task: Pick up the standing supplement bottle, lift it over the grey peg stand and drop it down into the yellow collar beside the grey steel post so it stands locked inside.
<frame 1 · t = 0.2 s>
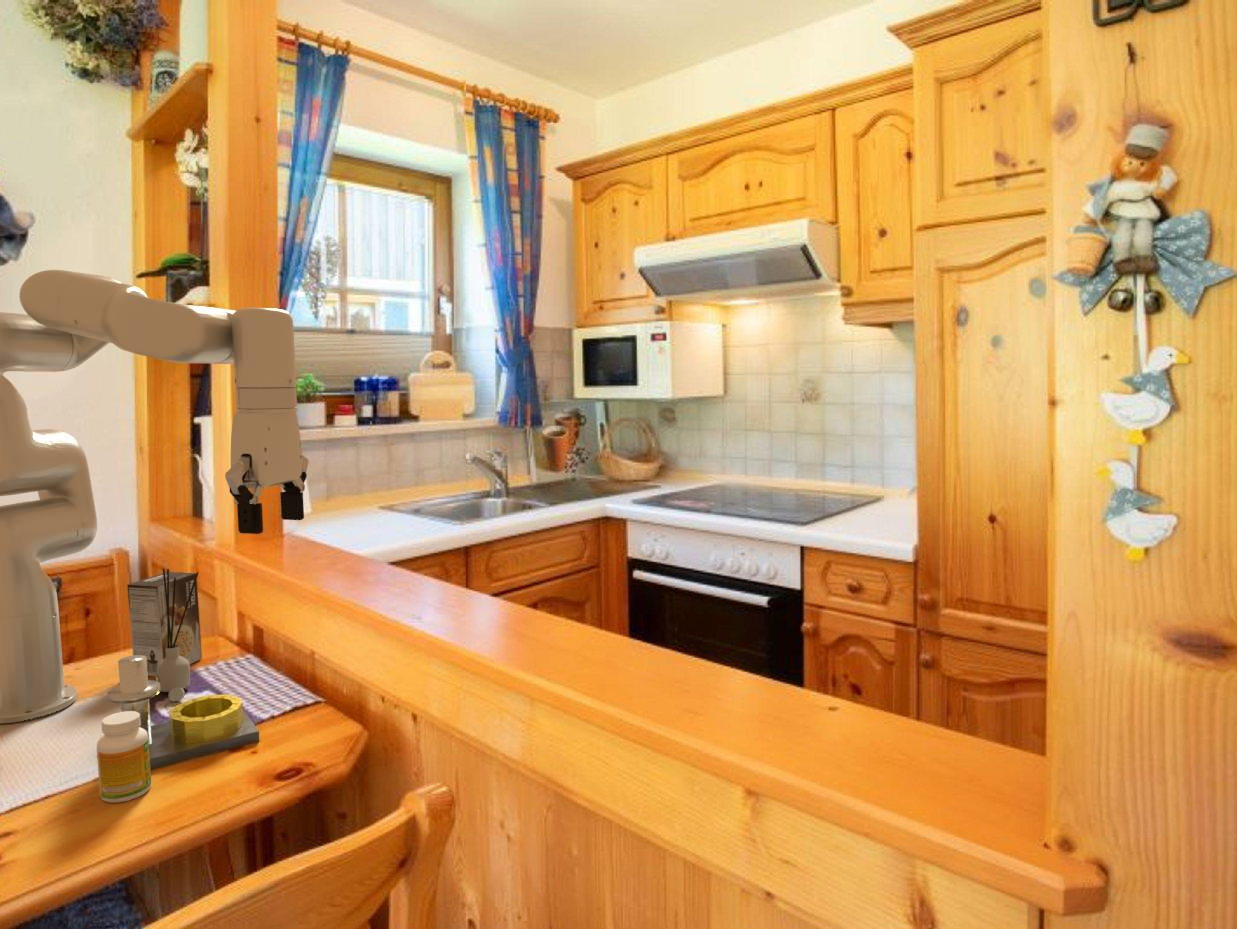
hand: (272, 526, 108), 31 cm above the table, tool pointing down, fingers open, 9 cm apart
reed diffuser: (182, 691, 128), on the table
grey peg stand: (184, 743, 110), on the table
supplement bottle: (126, 793, 97), on the table
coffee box: (168, 667, 139), on the table
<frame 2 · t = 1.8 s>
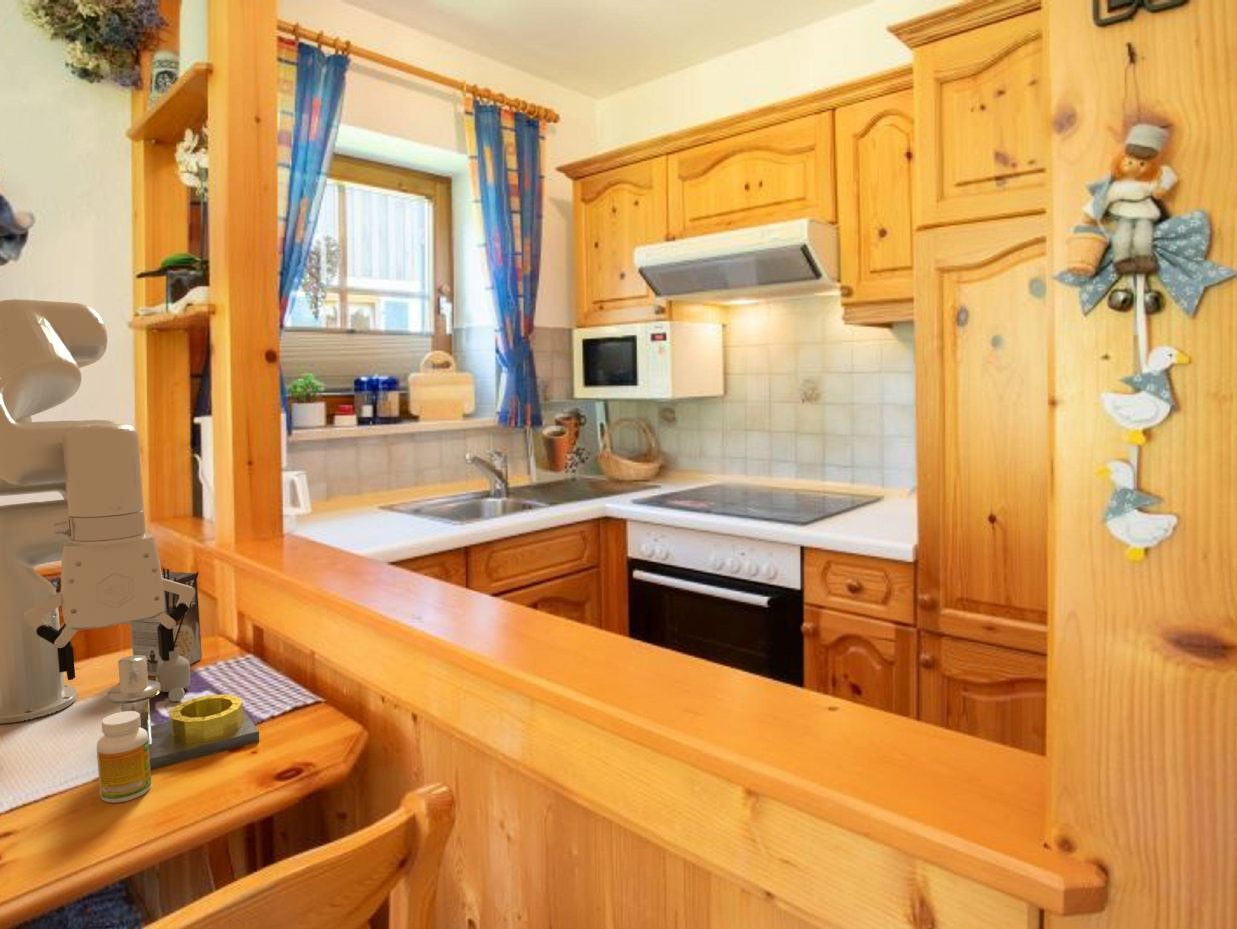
hand: (119, 667, 95), 16 cm above the table, tool pointing down, fingers open, 9 cm apart
nothing on the table moved.
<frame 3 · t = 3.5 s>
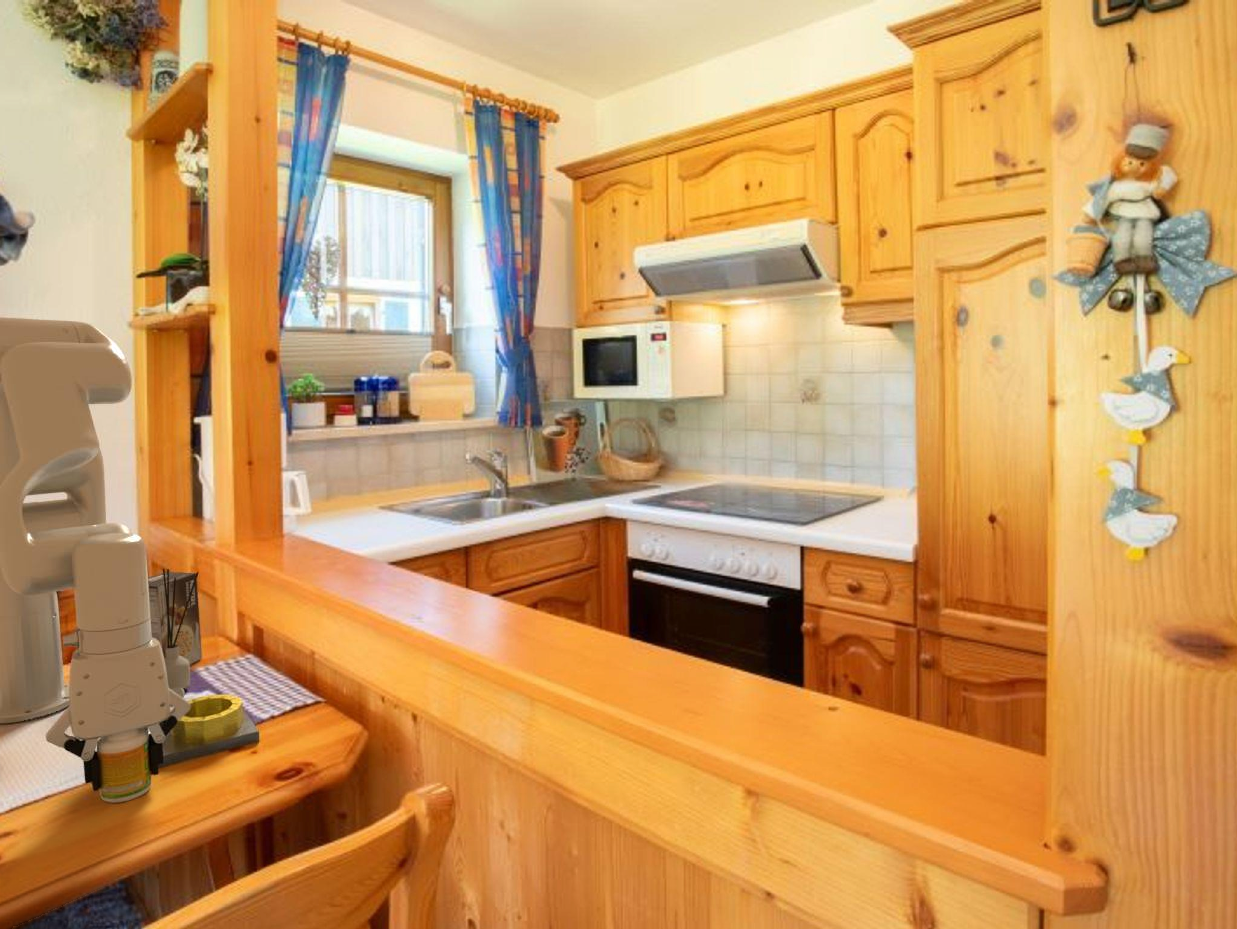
hand: (125, 776, 97), 2 cm above the table, tool pointing down, fingers closed on supplement bottle, 5 cm apart
supplement bottle: (126, 793, 97), on the table, touching gripper
everything else where it was.
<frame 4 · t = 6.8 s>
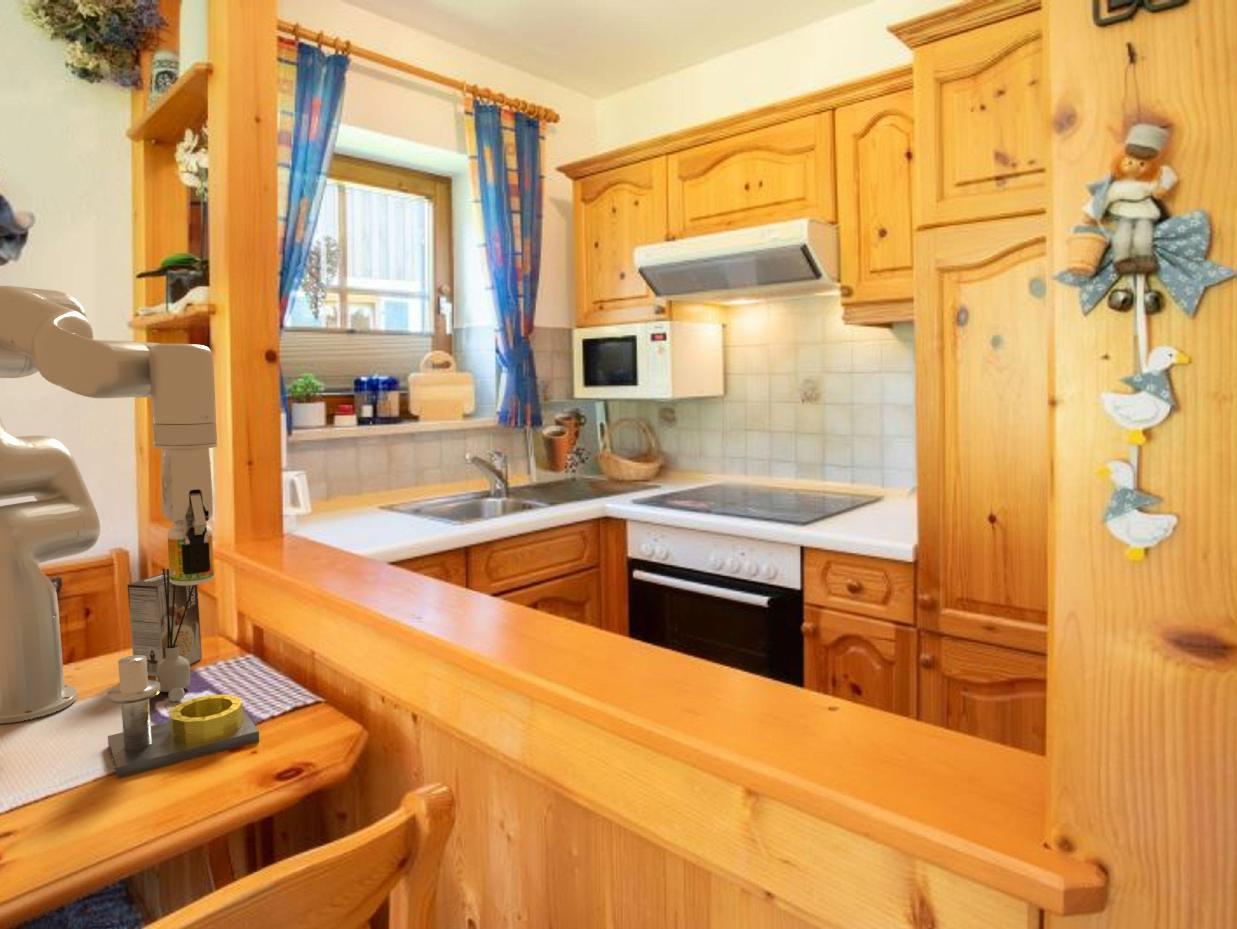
hand: (192, 566, 108), 25 cm above the table, tool pointing down, fingers closed on supplement bottle, 5 cm apart
supplement bottle: (192, 582, 108), point 23 cm above the table, touching gripper
everything else where it was.
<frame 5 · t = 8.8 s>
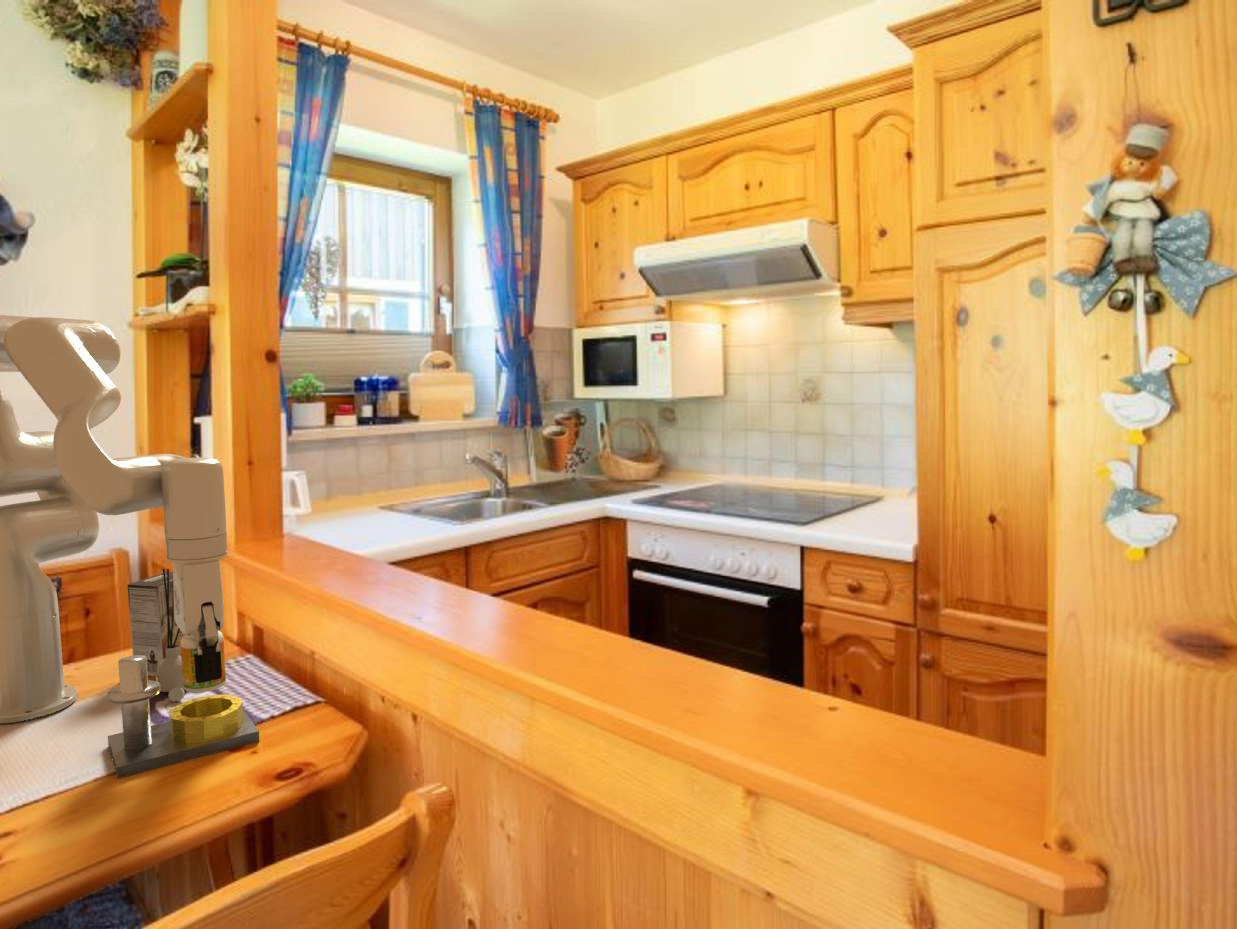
hand: (204, 672, 111), 10 cm above the table, tool pointing down, fingers closed on supplement bottle, 5 cm apart
supplement bottle: (205, 687, 111), point 7 cm above the table, touching gripper
everything else where it was.
when the fingers open (6 cm above the table, at t = 10.1 s): supplement bottle drops 2 cm, resting on grey peg stand.
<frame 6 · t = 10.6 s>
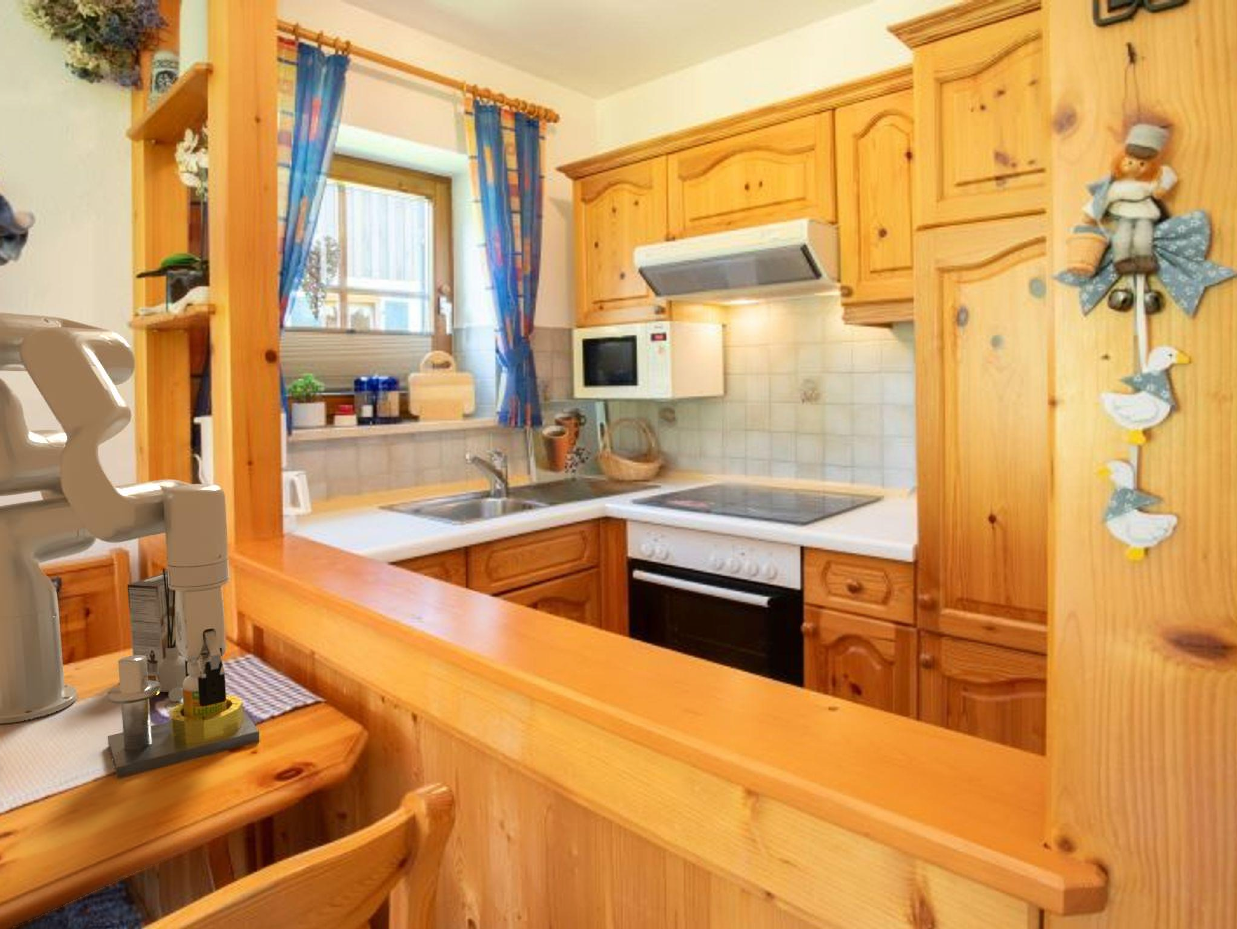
hand: (205, 691, 111), 7 cm above the table, tool pointing down, fingers open, 9 cm apart
supplement bottle: (206, 728, 112), point 1 cm above the table, touching grey peg stand
everything else where it was.
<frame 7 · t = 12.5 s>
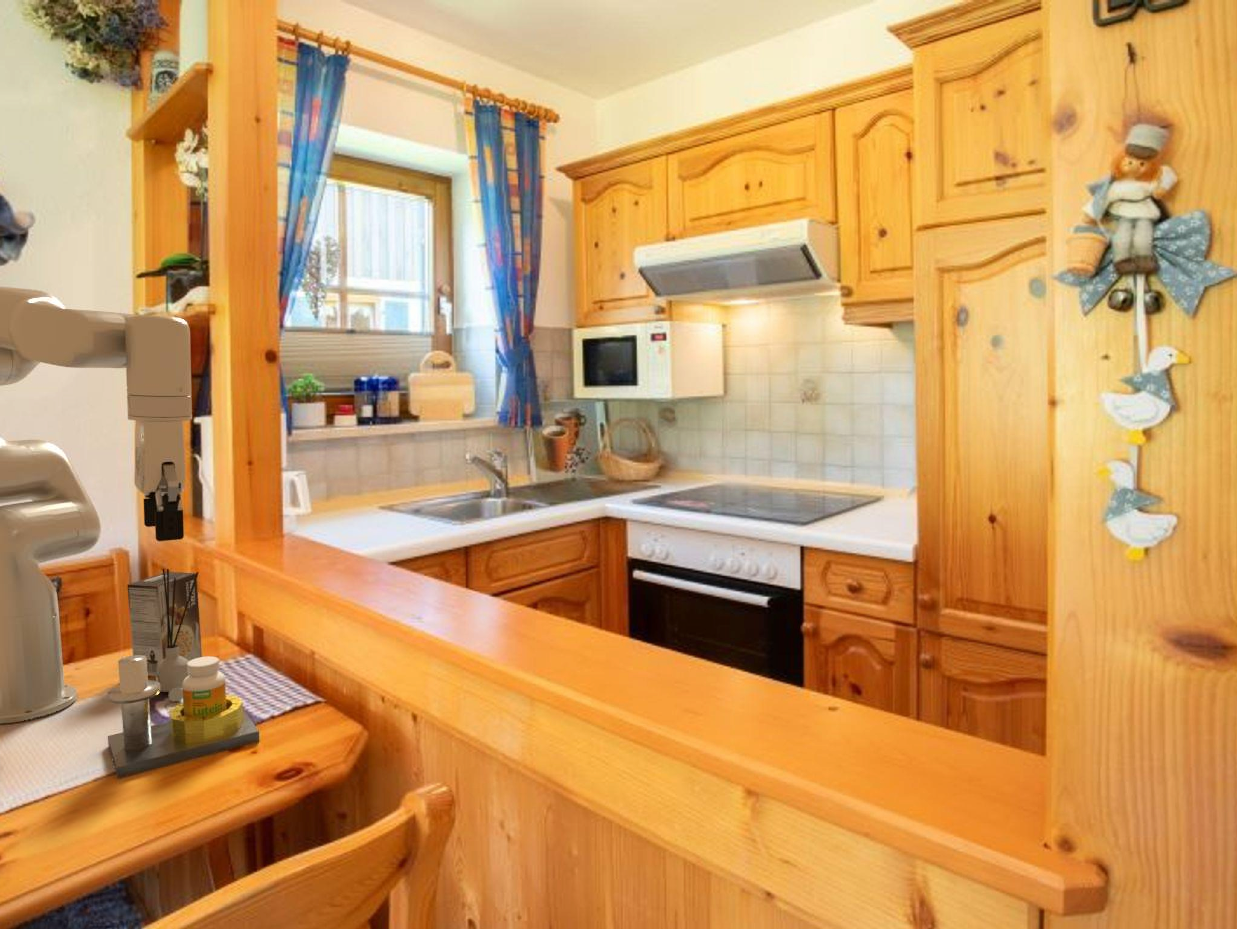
hand: (163, 532, 108), 30 cm above the table, tool pointing down, fingers open, 9 cm apart
nothing on the table moved.
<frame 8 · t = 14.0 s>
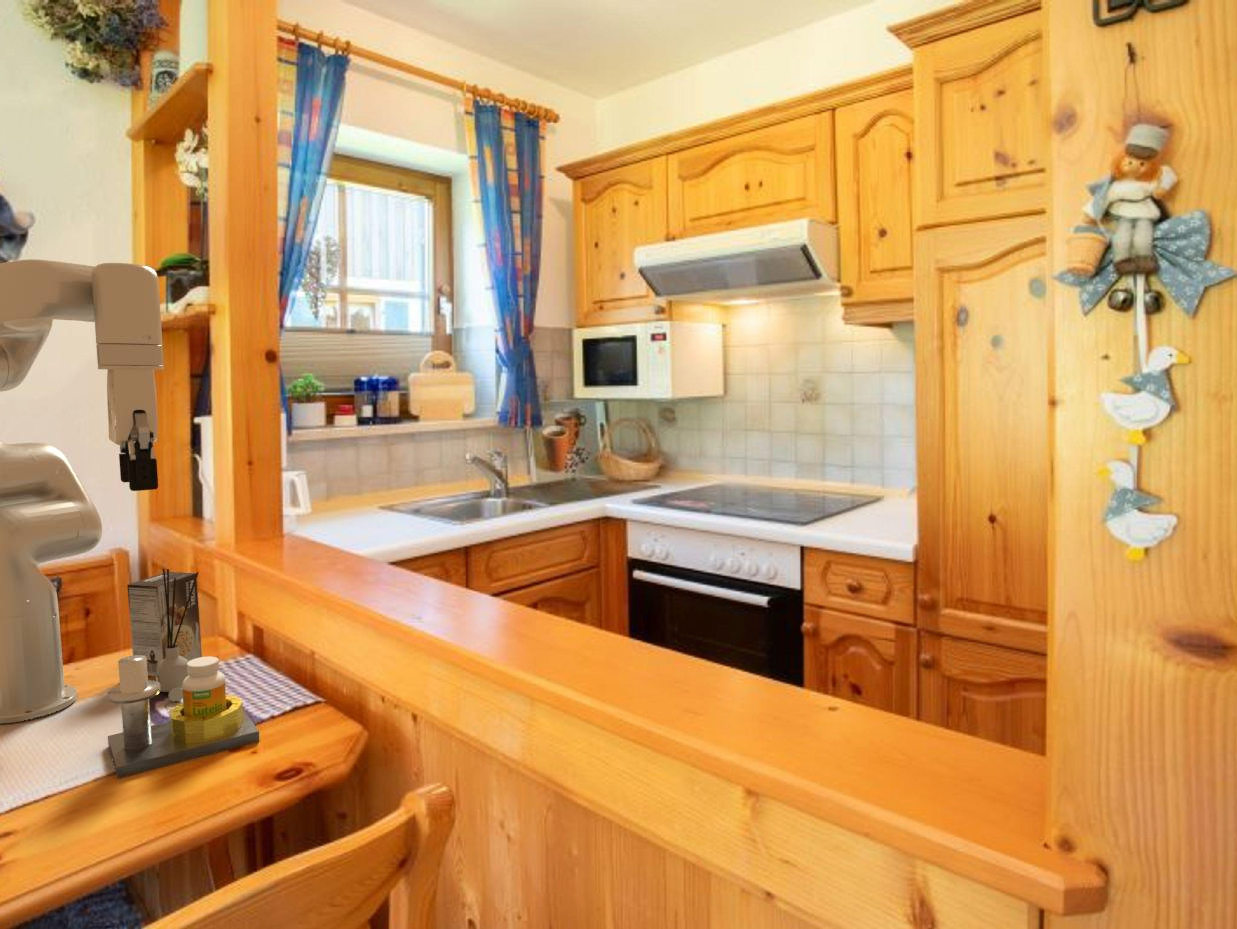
hand: (139, 485, 107), 36 cm above the table, tool pointing down, fingers open, 9 cm apart
nothing on the table moved.
at the end: supplement bottle 0.3 cm from the target spot on the grey peg stand, point 1.3 cm above the grey peg stand's base; supplement bottle tilted 0°; the gripper is holding nothing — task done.
